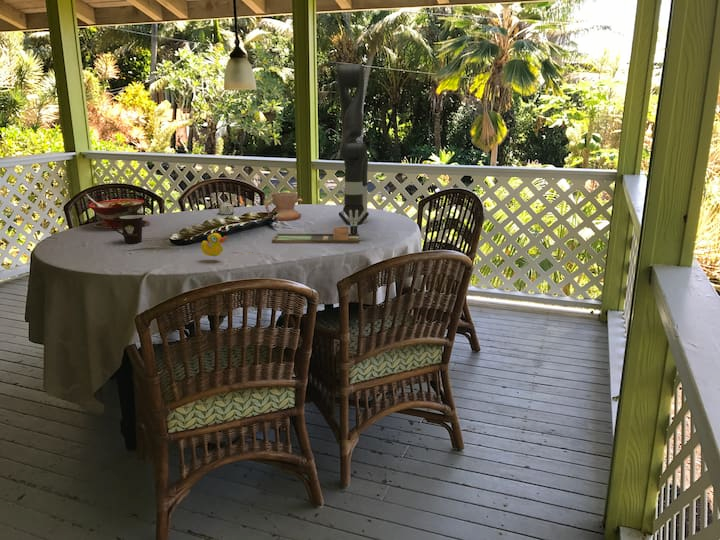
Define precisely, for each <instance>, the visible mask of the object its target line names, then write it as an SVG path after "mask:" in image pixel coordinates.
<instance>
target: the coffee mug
mask: <svg viewBox="0 0 720 540" xmlns="http://www.w3.org/2000/svg"><path fill="white" fill-rule="evenodd" d="M119 218H120V221H118V220H114V221H112V222H111V227H112V228H113V229H112V228H111V229H112V230H114V231H115V232H117V233H119V234H121V235H122V236H123V240H124V243H126V244H136V243H141V242H142V241H143V225H142V220H143V215H137V214H135V215H129V216H122V217H119ZM113 222H119V223H120V225H121V227H122V228H121V230H122V231H120V230H118V229H115V228H114V227H113V226H112V224H113Z"/></svg>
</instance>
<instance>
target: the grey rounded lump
mask: <svg viewBox="0 0 720 540" xmlns="http://www.w3.org/2000/svg"><path fill="white" fill-rule="evenodd" d="M235 206H236V204H232V203H230V202H228V201H227V199H225V200H224V202H222V203H221V204H219V205H218V206H217V207H218V213H217V215H221V216H230V215H232V216H233V215H234V213H235V212H234V207H235Z"/></svg>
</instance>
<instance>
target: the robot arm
mask: <svg viewBox="0 0 720 540" xmlns="http://www.w3.org/2000/svg"><path fill="white" fill-rule="evenodd" d="M336 81H337V87H338V88H337V89H338V95H339V102H340V117H341V118H340V120H341V130H342V138H343V139H342V142H341V146H340V150H339V154H340V158H341V159H342V160H343V163H344V168H345V169H344V184H343V185H344V187H343V188H344V190H343V193H344V196H343V197H344V199H343V200H344V201H343V204H344V206H343V208H342V210H341V211H339V212H338V216H339V217H340V218H341V220H342V221H343V222H344V224H345V225H346V226H348V227H350V230H349V231H350V233H349V234H352V235H356V234H358V226H361V225H362V224H366V223H367V222H368V216H369V215H370V213H369V211H368V167H369V166H368V165H369V153H368V148H367V145H366V143H364V142H360V141H358V142H357V141H356V140H357V139H358V138H360V137H362V133H363V128H364V120H363V117H364V116H363V102H364V92H365V70H364V66H363V64H361V63H348V64H340V65H337V68H336ZM348 89H356V90H355V94H354V96H353V98H352V97H351V96H350V94H349V91H348ZM355 141H356V142H355ZM345 215H346V216H347V217H345Z"/></svg>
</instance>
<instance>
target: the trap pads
mask: <svg viewBox="0 0 720 540" xmlns="http://www.w3.org/2000/svg"><path fill="white" fill-rule="evenodd" d="M323 237H324V236H312V237H311V239H310V240H323ZM328 240H333V236H328Z"/></svg>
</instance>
